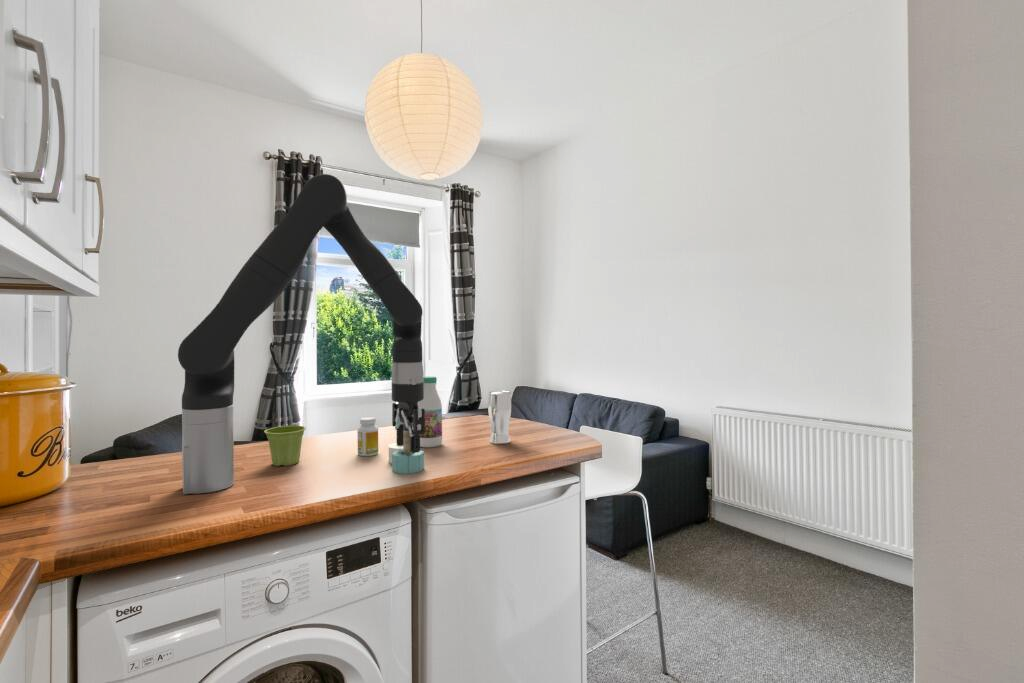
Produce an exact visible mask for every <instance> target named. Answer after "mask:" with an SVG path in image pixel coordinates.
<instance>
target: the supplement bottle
mask: <svg viewBox="0 0 1024 683" xmlns="http://www.w3.org/2000/svg"><path fill="white" fill-rule="evenodd" d="M376 422H377V421H376V417H372V416H371V417H370V416H369V417H368V416H367V417H361V418H360V419H359V424H360V426H358V428H357V455H358V456H360V457H371V456H376V455H378V454H379V428H378V426H377V425H375V424H376Z"/></svg>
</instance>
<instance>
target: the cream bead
mask: <svg viewBox="0 0 1024 683" xmlns="http://www.w3.org/2000/svg"><path fill="white" fill-rule="evenodd" d="M398 450H403V445H402V446H398V445H397V442H395V443H394V442H393V443H391V444H390V443H389V444H388V464H391V465H392V453H394V452H395V451H398Z"/></svg>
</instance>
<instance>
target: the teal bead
mask: <svg viewBox="0 0 1024 683" xmlns="http://www.w3.org/2000/svg"><path fill="white" fill-rule="evenodd" d="M424 469H425V451H423V450H421V449H420V451H419V452H415V453H413V454H409V455H405V454H404V452H403V450H398V451H395V452H394V453H392V464H391V471H393V472H394V473H396V474H414V473H415V474H416V473H419V472H422V470H424Z"/></svg>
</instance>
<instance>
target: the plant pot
mask: <svg viewBox="0 0 1024 683" xmlns="http://www.w3.org/2000/svg"><path fill="white" fill-rule="evenodd" d="M305 430H306V426H303V425H282V426H274V427H271V428H267V429H265V430H264V431H263V432H264V434H265V435H266V438H267V439H268V444H269V445H268V446H269V452H270V457H271V462H272V465H273V466H275V467H279V466H286V467H288V466H292V465H296V464H297V463H299V462H300V458H301V449H302V441H303V436H304V433H305Z"/></svg>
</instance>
